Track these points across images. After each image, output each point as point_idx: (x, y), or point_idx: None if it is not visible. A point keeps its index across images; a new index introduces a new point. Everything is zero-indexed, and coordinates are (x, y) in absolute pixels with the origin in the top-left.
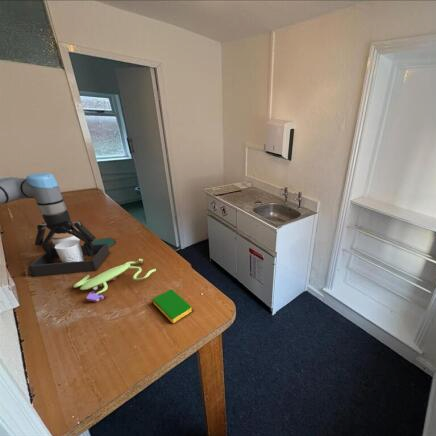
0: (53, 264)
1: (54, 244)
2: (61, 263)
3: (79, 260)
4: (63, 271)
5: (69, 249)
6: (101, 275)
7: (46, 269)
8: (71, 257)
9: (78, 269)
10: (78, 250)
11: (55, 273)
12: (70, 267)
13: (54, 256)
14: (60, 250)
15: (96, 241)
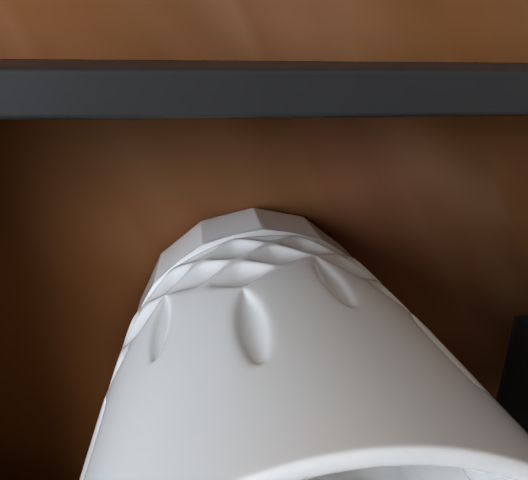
0: (430, 68)
1: None
2: (282, 77)
3: (142, 305)
4: (269, 61)
5: (161, 458)
6: None
7: (513, 65)
8: (191, 292)
9: (34, 61)
10: (80, 478)
11: (376, 62)
12: (141, 64)
13: (518, 384)
14: (406, 405)
15: None
